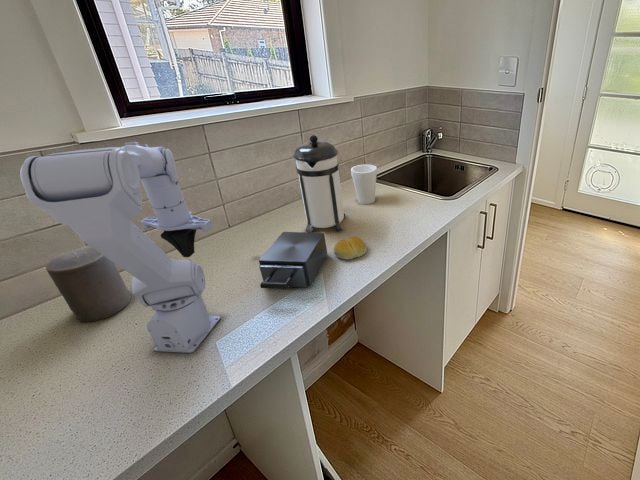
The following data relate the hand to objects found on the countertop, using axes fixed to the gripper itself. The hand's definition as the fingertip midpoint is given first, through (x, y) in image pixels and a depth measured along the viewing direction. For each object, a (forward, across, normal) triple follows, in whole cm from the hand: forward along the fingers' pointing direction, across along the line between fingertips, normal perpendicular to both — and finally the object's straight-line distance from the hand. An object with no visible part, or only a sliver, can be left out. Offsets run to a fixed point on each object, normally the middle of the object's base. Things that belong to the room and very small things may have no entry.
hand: (189, 254), depth 77 cm
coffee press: (+11, -20, -35) cm, 42 cm away
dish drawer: (+9, -20, -5) cm, 23 cm away
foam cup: (+12, -30, -53) cm, 62 cm away
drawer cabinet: (+10, -20, -9) cm, 25 cm away
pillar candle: (+11, +18, +7) cm, 23 cm away
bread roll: (+11, -33, -18) cm, 39 cm away
